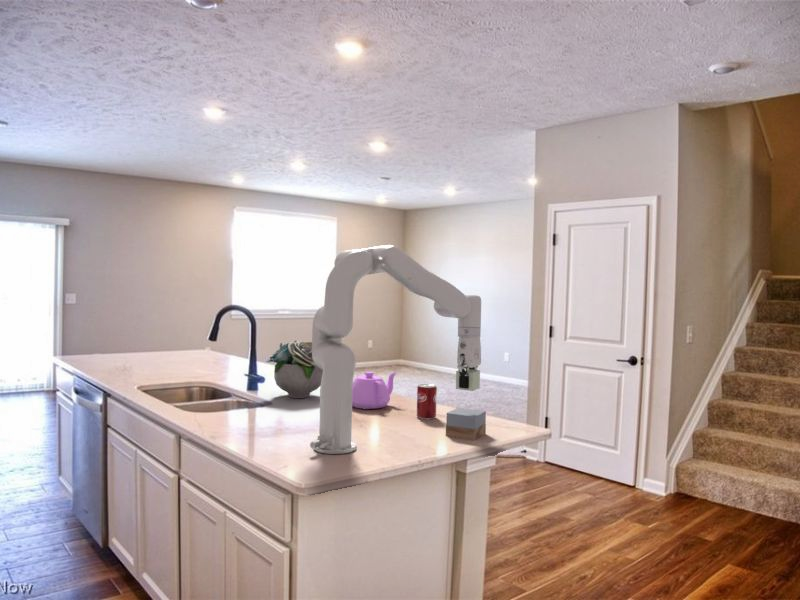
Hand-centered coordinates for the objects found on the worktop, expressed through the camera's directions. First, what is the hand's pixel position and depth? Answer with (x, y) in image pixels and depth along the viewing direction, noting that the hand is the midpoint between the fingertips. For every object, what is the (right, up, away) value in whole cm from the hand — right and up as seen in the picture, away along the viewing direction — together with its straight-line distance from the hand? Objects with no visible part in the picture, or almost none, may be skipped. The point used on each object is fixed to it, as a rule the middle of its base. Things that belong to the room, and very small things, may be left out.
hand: (467, 385), depth 193 cm
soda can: (-13, -15, +23) cm, 31 cm away
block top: (-1, -13, 0) cm, 13 cm away
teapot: (-33, -14, +42) cm, 55 cm away
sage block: (0, -1, 0) cm, 1 cm away
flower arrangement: (-66, -13, +57) cm, 88 cm away
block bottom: (-1, -17, 0) cm, 17 cm away
